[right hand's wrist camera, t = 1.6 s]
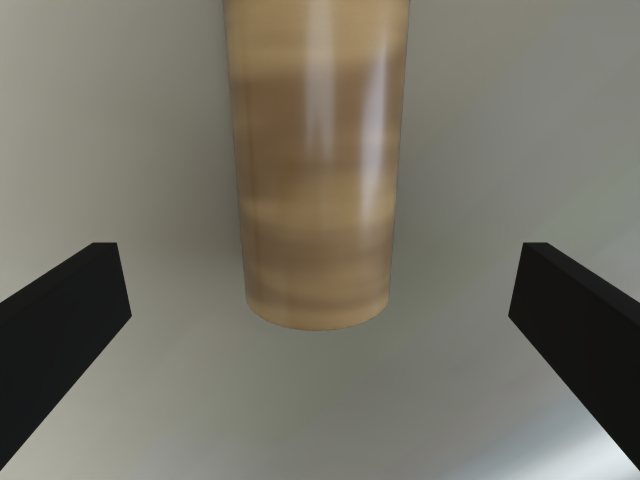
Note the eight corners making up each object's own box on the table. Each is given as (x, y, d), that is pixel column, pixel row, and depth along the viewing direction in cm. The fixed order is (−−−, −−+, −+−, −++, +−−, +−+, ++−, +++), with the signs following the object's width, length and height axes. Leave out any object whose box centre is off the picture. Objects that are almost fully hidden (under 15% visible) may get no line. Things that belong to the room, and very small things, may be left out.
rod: (377, 262, 25) (402, 331, 17) (257, 262, 25) (231, 331, 17) (404, -208, 17) (471, -448, 9) (228, -209, 17) (157, -449, 9)
